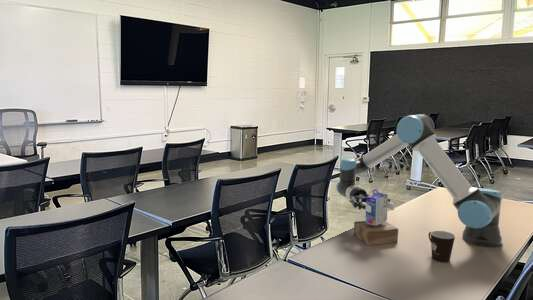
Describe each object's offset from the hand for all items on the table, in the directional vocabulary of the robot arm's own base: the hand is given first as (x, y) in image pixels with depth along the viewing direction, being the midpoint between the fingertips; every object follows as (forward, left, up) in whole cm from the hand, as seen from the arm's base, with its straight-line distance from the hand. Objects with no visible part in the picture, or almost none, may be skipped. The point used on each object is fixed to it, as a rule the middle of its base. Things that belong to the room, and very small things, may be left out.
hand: (382, 208), depth 169 cm
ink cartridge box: (+4, 0, -8) cm, 9 cm away
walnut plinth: (+4, 0, -15) cm, 15 cm away
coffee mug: (-20, -14, -15) cm, 29 cm away
